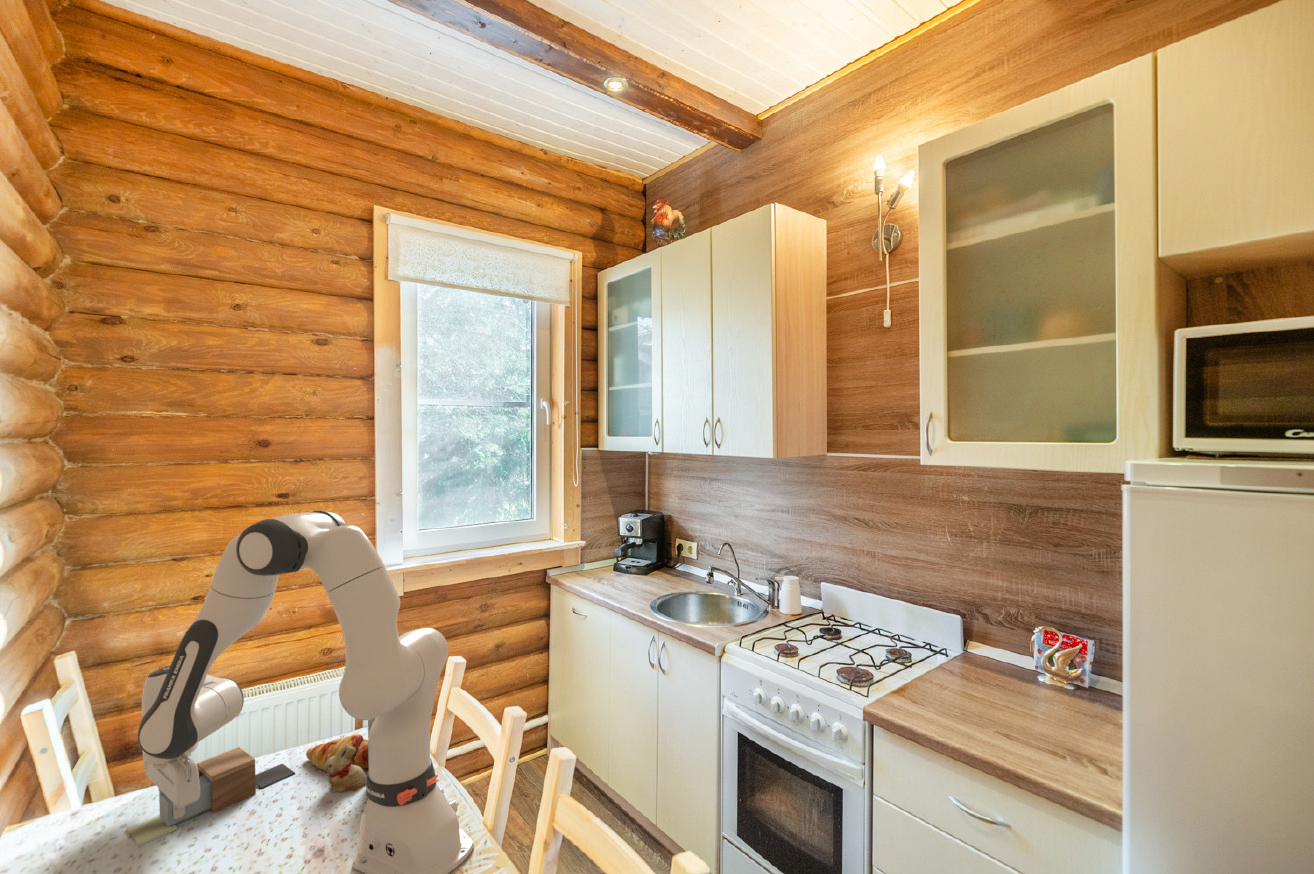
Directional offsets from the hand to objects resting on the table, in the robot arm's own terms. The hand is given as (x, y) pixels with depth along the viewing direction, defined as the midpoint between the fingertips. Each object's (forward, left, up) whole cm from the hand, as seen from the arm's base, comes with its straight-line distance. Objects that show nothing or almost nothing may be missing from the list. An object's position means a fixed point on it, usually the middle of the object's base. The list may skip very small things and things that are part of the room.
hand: (172, 810), depth 123 cm
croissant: (-9, -31, -2) cm, 33 cm away
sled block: (0, -3, -2) cm, 4 cm away
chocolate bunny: (-18, -26, -2) cm, 32 cm away
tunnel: (0, -8, -2) cm, 9 cm away
